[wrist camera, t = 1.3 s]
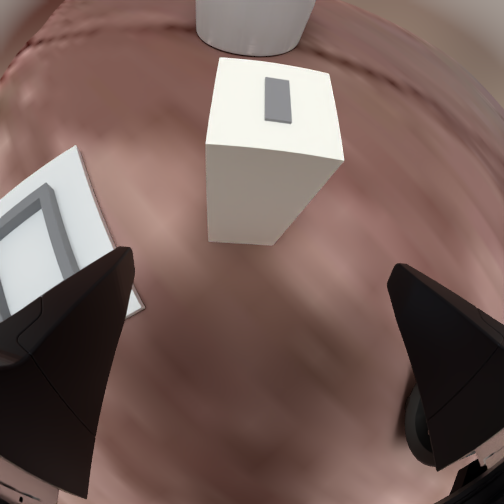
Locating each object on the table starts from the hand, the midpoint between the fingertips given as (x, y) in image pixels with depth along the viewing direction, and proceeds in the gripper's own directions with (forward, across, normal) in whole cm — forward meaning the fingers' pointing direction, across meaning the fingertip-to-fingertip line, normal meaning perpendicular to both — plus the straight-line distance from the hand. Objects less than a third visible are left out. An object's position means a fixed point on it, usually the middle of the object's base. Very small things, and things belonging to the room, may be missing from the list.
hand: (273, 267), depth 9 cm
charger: (+14, 0, +4) cm, 14 cm away
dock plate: (+10, +18, +8) cm, 22 cm away
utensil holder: (+33, 0, -14) cm, 36 cm away
